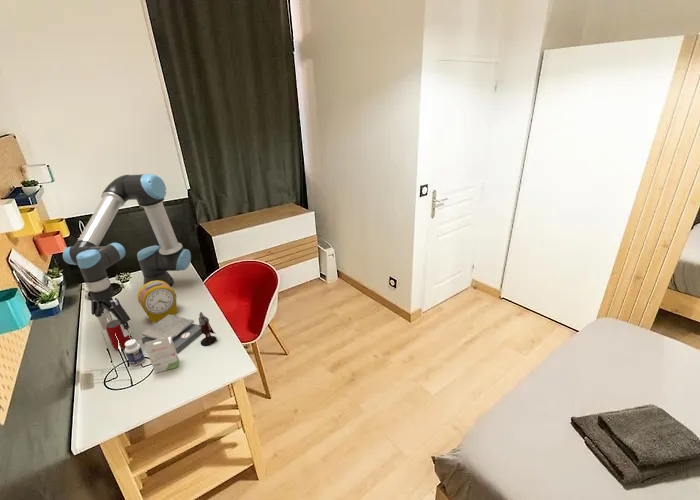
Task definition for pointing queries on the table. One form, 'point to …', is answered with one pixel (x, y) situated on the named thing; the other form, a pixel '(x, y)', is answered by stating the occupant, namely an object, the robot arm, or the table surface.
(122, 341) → the beverage can
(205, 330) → the figurine
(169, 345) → the ink box
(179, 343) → the scale
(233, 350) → the table surface
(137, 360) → the pill bottle
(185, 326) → the silver square platform
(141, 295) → the alarm clock
